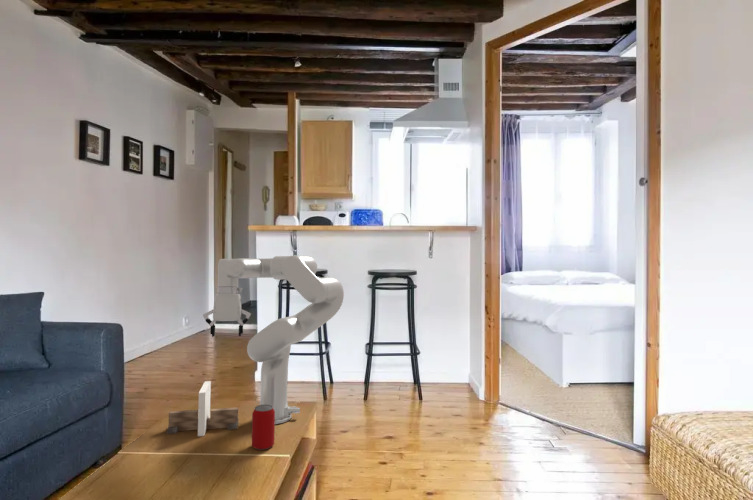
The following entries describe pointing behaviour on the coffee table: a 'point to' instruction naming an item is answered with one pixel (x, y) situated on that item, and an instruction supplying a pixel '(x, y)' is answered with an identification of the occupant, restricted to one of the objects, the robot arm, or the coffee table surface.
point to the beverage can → (263, 427)
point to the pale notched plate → (204, 407)
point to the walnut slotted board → (217, 420)
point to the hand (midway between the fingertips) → (226, 335)
